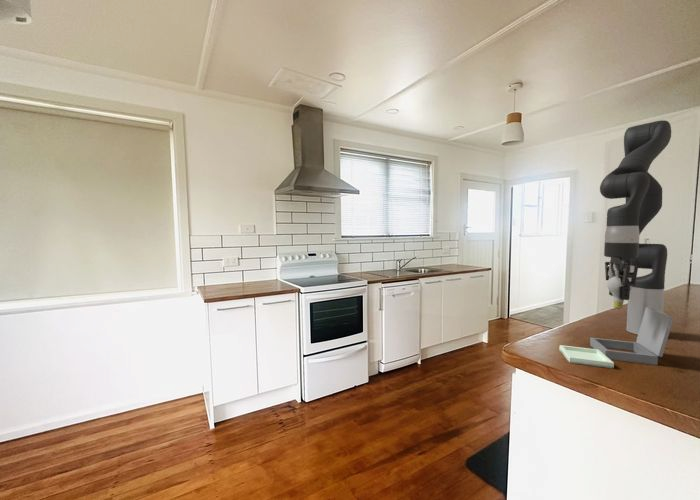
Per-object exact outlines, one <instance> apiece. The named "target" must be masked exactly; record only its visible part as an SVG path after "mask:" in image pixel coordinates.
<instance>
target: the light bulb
mask: <svg viewBox="0 0 700 500" xmlns="http://www.w3.org/2000/svg"><path fill="white" fill-rule="evenodd" d="M622 281H623V279H622ZM606 284H607V288H608V291H609V290H610V292H611V293H612V295H613V296H612V297H613V308H615V309H617V310H621V309H623V308H624V302H625V300H621V299H619V287H620V286H619V281H618V279H616V276H615V277H612V278H610V279H609V280H607V283H606ZM631 289H632V287H630V290H631Z"/></svg>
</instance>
